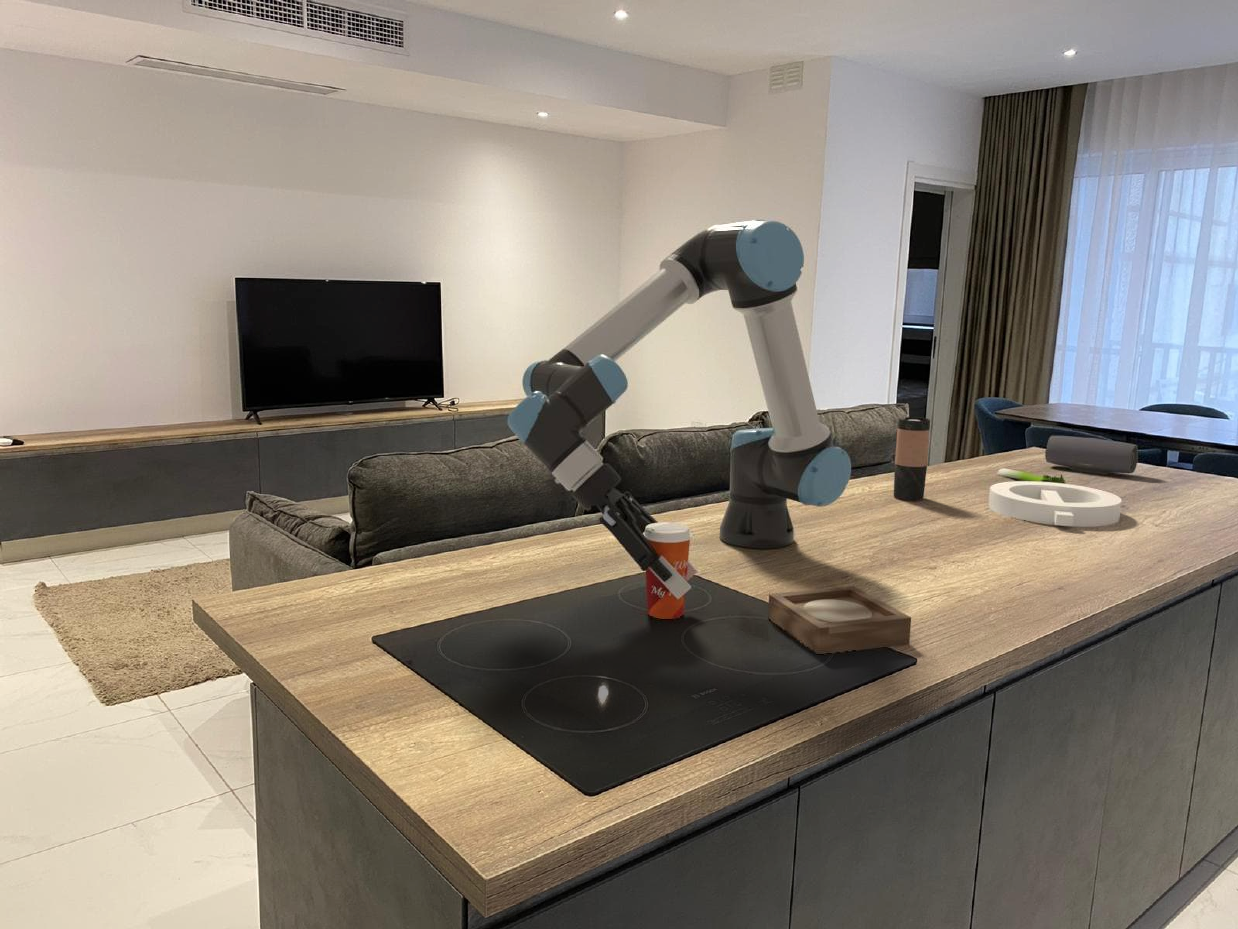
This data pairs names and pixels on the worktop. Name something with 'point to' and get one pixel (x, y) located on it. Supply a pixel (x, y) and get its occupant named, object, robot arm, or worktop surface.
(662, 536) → the paper cup
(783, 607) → the wooden coaster holder
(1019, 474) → the leek
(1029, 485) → the white circle with bar
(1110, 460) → the bluetooth speaker
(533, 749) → the worktop surface
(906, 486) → the travel mug
